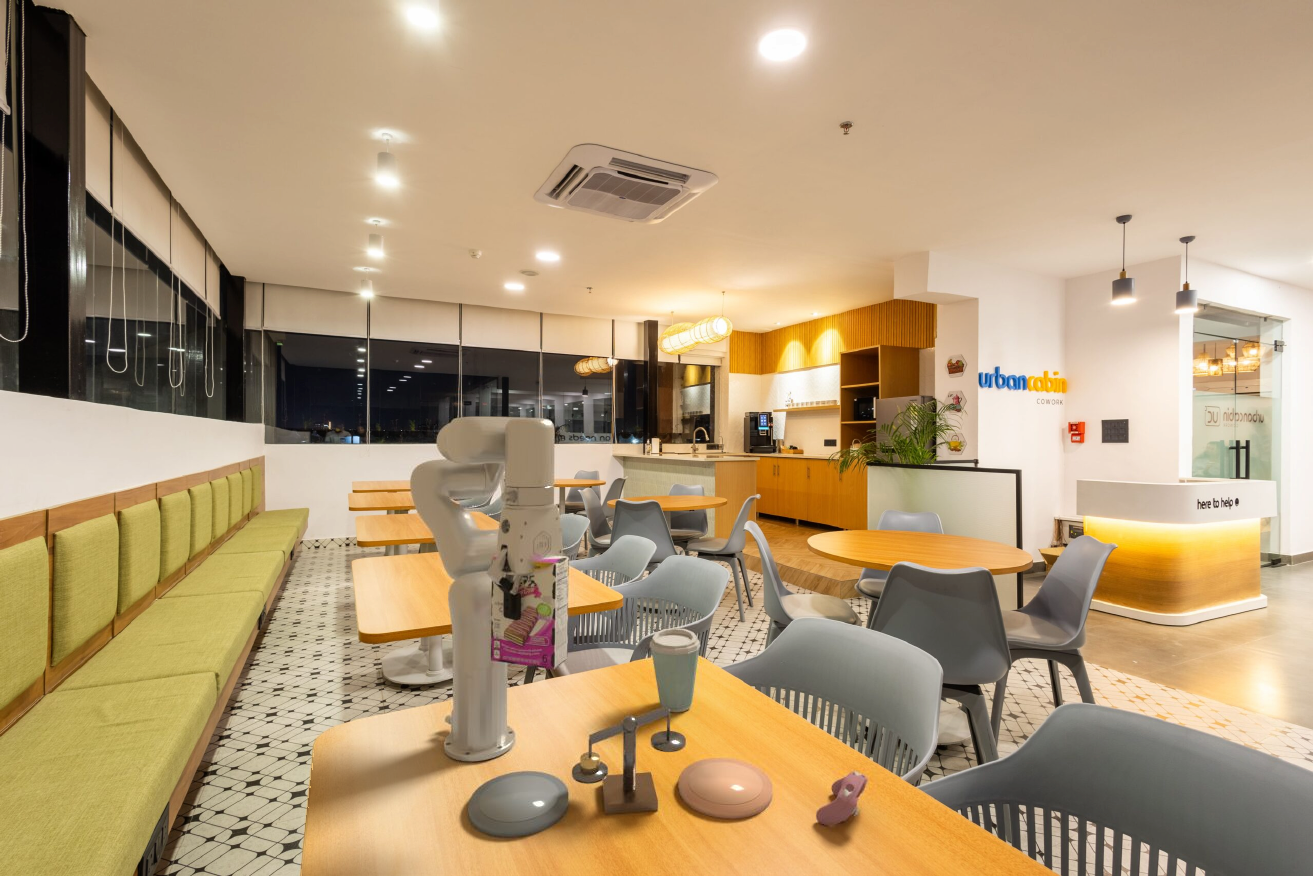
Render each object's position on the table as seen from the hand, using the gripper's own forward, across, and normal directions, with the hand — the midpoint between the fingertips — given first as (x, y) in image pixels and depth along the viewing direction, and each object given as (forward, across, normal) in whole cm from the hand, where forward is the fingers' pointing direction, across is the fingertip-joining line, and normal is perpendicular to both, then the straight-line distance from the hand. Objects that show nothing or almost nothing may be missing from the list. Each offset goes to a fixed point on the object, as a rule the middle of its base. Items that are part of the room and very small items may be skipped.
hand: (528, 612), depth 96 cm
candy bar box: (+8, 0, 0) cm, 8 cm away
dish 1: (+29, -2, 0) cm, 30 cm away
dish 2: (+30, +21, -24) cm, 43 cm away
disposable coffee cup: (+30, +41, 0) cm, 51 cm away
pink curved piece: (+30, +26, -41) cm, 57 cm away
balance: (+29, +10, -12) cm, 33 cm away
